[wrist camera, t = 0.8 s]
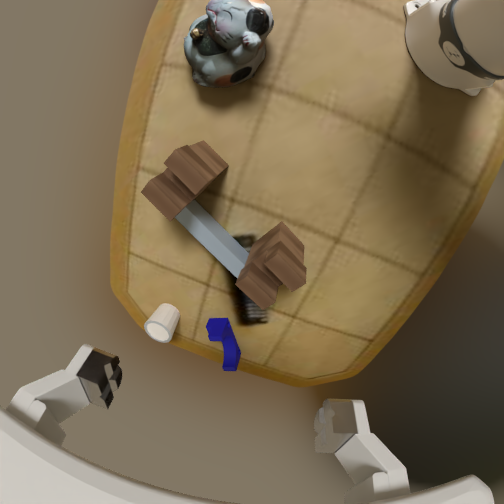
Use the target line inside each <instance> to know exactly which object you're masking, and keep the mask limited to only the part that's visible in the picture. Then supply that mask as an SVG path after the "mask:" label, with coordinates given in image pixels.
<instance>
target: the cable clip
mask: <svg viewBox="0 0 504 504" xmlns="http://www.w3.org/2000/svg"><path fill="white" fill-rule="evenodd" d="M206 328H207V331H208V333H209V335H208V337H209V340H210V341H222V343H223V348H224V362H223V369H224V371H236V370H237V366H238V363H239V359H240V355H241V352H240V349H239V346H238V344H237V341H236V338H235V336H234V333H233V330H232V328H231V325H230V322H229V320H228V318H209V320H208V323H207V325H206Z"/></svg>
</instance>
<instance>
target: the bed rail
mask: <svg viewBox="0 0 504 504" xmlns="http://www.w3.org/2000/svg"><path fill="white" fill-rule="evenodd" d="M175 218H176V219H177V220H178V221H179V222H180V223H181V224H182V225H183V226H184V227H185V228H186V229H187V230H188V231H189V232H190V233H191V234H192V235H193V236H194V237H195V238H196V239H197V240H198V241H199V242H200V243H201V244H202V245H203V246H204V247H205V248H206V249H207V250H208V251H209V252H210V253H212V254H213V255H214V256H215V257H216V258H217V259H218V260H219V261H220V262H221V263H222V264H223V265H224V266H225V267H226V268H227V269H228V270H229V271H230V272H231V273H232V274H233V275H234V276H236V277H237V278H238V276H239V274H240V271H241V269H243V268H244V266H245V263H246V261H247V258H248V255H249V253H248V252H247V251H246V250H245V249H244V248H243V247H242V246H241V245H240V244H239V243H238V242H237V241H236V240H235V239H234V238H233V237H232V236H231V235H230V234H229V233H228V232H227V231H226V230H225V229H224V228H223V227H222V226H221V225H220V224H219V223H218V222H217V221H216V220H215V219H214V218H213V217H212V216H211V215H210V214H209V213H208V212H207V211H206V210H205V209H204V208H203V207H202V206H201V205H200V204H199V203H198V202H197V201H196V200H195V199H194V200H193V201H192V202H190V203H189V204H188V205H187V206H186V207H185V208H184V209H183V210H182V211H181V212H180V213H179V214H178V215H177V216H176V217H175Z"/></svg>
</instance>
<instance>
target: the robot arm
mask: <svg viewBox="0 0 504 504" xmlns="http://www.w3.org/2000/svg"><path fill="white" fill-rule="evenodd" d="M415 6H417V7H418V9H417V8H416V7H415ZM404 11H405V14H406V18H407V24H406V30H405V37H406V43H407V47H408V50H409V52H410V54H411V56H412V58H413V60H414V61H415V63H416V64H417V66H418V67H419V68H420V69H421V71H422V72H423V73H424V74H425V75H427V76H428V77H429V78H430V79H431V80H433V81H434V82H436V83H438V84H440V85H442V86H445V87H449V88H455V89H460V90H462V91H463V92H465V93H466V94H468V95H470V96H476V95H477V94H478V93H479V92H480V90H481V89H482V88H488V87H492V86H493V83H494V82H495V80H502V79H504V0H414V1H410V2H407V3H406V4H405V5H404ZM119 362H120V361H119V357H118V356H116V355H113V354H111V353H108V352H105V351H103V350H100V349H98V348H95V347H93V346H90V345H88V344H84V345H83V346H82V347H81V348H80V350H79V351H78V352H77V354H76V355H75V357H74V358H73V360H72V361H71V362H70V364H69V365H68V367H67V368H66V370H60V371H57V372H55V373H53V374H51V375H48V376H46V377H44V378H42V379H40V380H37V381H35V382H32V383H30V384H28V385H26V386H24V387H21V388H20V389H19V390H18V392H17V393H16V395H15V396H14V398H13V399H12V401H11V402H10V404H9V405H8V407H7V408H6V409H4V408H3V407H2V406H0V504H238V503H231V502H223V501H217V500H212V499H206V498H201V497H196V496H191V495H187V494H183V493H179V492H175V491H171V490H168V489H164V488H160V487H157V486H154V485H151V484H148V483H145V482H141V481H138V480H136V479H133V478H130V477H127V476H124V475H122V474H120V473H117V472H115V471H112V470H110V469H107V468H104V467H103V466H100V465H98V464H96V463H93V462H91V461H89V460H87V459H85V458H83V457H81V456H79V455H77V454H75V453H73V452H71V451H69V450H68V449H66V448H64V447H62V446H61V445H62V443H63V441H64V439H65V437H66V434H65V432H64V430H63V429H62V428H61V426H60V425H59V423H61V422H63V421H64V420H66V419H67V418H69V417H70V416H72V415H73V414H75V413H77V412H78V411H79V410H81V409H83V408H84V407H86V406H87V405H88V404H90V403H92V404H95V405H98V406H100V407H103V408H105V409H108V408H109V406H110V404H111V402H112V400H113V398H114V396H113V392H114V391H116V390H117V389H118V388H119V386H120V384H121V380H122V369H121V368H120V367H119V365H118V364H119ZM314 430H315V431H316V432H317V433H318V435H317V437H316V438H315V452H319V453H335V455H336V457H337V458H338V460H339V461H340V463H341V464H342V466H343V467H344V469H345V470H346V472H347V473H348V475H349V476H350V477H351V479H352V480H353V482H354V483H355V486H354V487H352V488H350V489H349V490H347V491H346V492H345V493H344V495H345V496H344V497H345V504H494V499H493V495H492V492H491V490H490V488H489V487H488V486H487V485H486V484H485V483H483V482H482V481H481V480H480V479H479V478H477V477H476V476H474V475H468V476H465V477H462V478H459V479H457V480H454V481H451V482H448V483H446V484H443V485H439V486H436V487H433V488H430V489H426V490H423V491H419V492H415V493H412V494H410V488H409V483H408V477H407V472H406V468H405V467H404V465H403V464H402V463H401V462H400V461H399V460H398V459H397V458H396V457H395V456H394V455H393V454H392V453H391V452H390V451H389V450H388V449H387V448H386V446H385V445H384V444H383V443H382V442H381V441H380V440H379V439H378V438H377V437H376V436H375V435H374V434H373V433H370V429H369V424H368V419H367V414H366V410H365V405H364V402H363V401H362V400H350V399H348V400H347V399H326V400H325V401H324V403H323V407H322V408H320V409H319V410H318V412H317V413H316V416H315V419H314Z"/></svg>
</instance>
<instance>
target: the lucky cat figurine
mask: <svg viewBox="0 0 504 504" xmlns="http://www.w3.org/2000/svg"><path fill="white" fill-rule="evenodd" d="M206 13H207V14H206V15H204V16H201V17H199V18H197V19H196V20H195V21H194V22H193V23H192V25H191V26H190V31H189V33H188V36H186V37H185V38H184V41H185V42H184V51H185V55H186V58H187V60H188V62H189V64H190V65H191V66H192V69H193V76H192V77H193V80H194V82H196V83H198V84H199V85H201V86H205V87H218V88H219V87H229V86H233V85H236V84H239V83H241V82H243V81H245V80H247V79H250V78H252V77H253V76H254V74H255V71H256V69H257V68H258V66H259V65H260V63H261V62H262V61H263V60H264V59H265V52H266V48H265V38H266V37H267V35H268V34H269V33H270V32H271V30H272V28H273V26H274V20H273V15H272V13H271V8H270V7H269V6H268V5H266V4H265V2H264V1H262V0H211V1H209V3H208V5H207V6H206Z"/></svg>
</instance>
